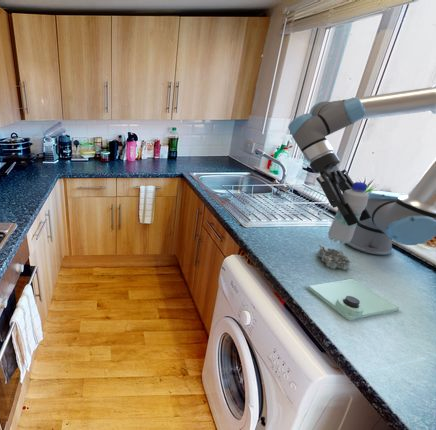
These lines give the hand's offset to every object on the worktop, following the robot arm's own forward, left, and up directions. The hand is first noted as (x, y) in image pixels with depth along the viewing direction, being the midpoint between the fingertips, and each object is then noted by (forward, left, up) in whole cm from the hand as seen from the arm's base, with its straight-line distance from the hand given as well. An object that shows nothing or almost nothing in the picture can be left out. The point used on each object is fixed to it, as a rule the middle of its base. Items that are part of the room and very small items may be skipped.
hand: (359, 221), depth 88 cm
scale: (+5, +9, -22) cm, 24 cm away
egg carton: (-8, -9, -22) cm, 25 cm away
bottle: (+1, -3, -9) cm, 9 cm away
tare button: (+11, +13, -19) cm, 26 cm away
